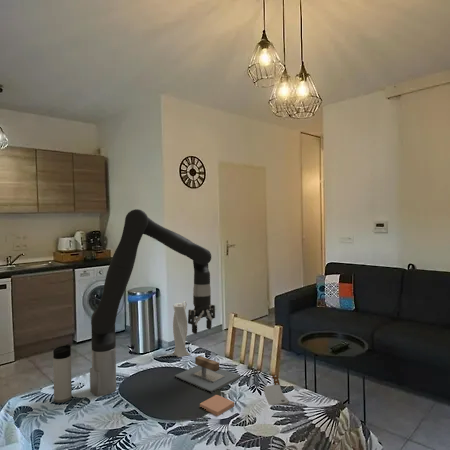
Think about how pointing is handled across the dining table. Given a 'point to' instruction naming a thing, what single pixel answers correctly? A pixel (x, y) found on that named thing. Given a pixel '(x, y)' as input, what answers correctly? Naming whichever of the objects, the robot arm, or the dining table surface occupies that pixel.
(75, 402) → the dining table surface
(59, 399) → the travel mug
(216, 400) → the tile
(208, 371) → the plastering trowel
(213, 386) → the mat
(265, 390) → the kitchen cleaver
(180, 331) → the skyscraper
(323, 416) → the dining table surface
